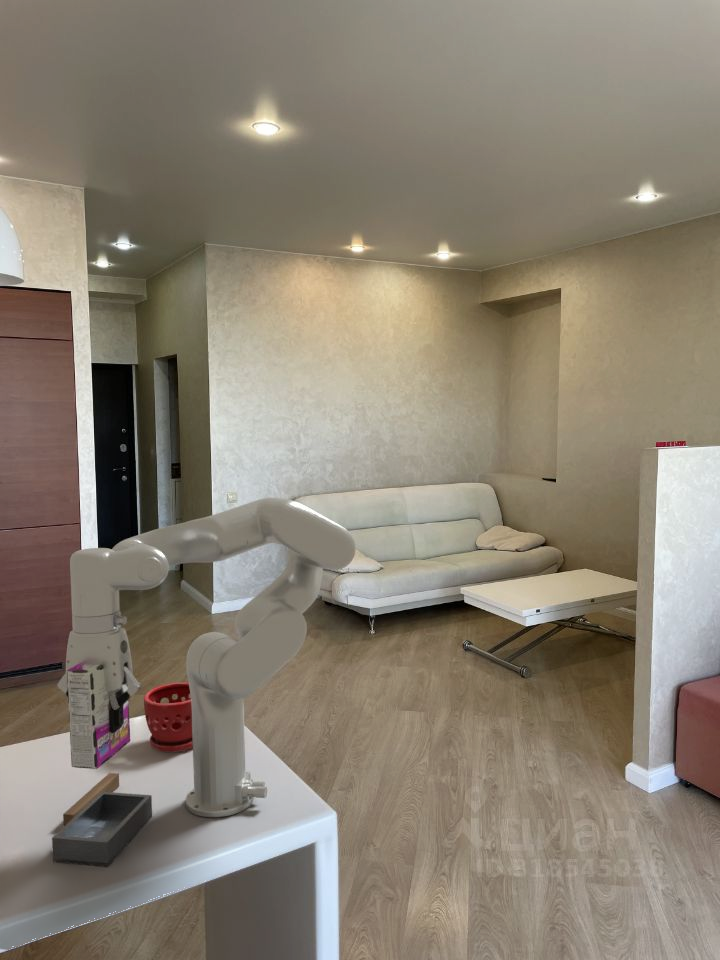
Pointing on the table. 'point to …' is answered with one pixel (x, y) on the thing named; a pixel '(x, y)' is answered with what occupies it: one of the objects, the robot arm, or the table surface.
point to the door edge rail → (92, 795)
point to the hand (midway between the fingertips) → (100, 727)
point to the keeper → (102, 829)
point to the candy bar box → (92, 718)
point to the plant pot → (169, 717)
